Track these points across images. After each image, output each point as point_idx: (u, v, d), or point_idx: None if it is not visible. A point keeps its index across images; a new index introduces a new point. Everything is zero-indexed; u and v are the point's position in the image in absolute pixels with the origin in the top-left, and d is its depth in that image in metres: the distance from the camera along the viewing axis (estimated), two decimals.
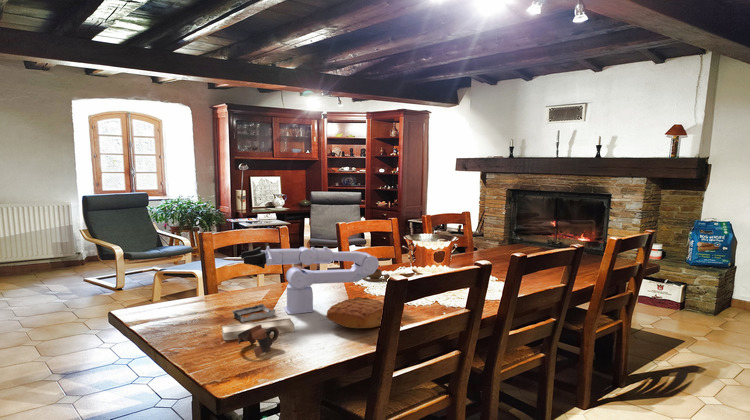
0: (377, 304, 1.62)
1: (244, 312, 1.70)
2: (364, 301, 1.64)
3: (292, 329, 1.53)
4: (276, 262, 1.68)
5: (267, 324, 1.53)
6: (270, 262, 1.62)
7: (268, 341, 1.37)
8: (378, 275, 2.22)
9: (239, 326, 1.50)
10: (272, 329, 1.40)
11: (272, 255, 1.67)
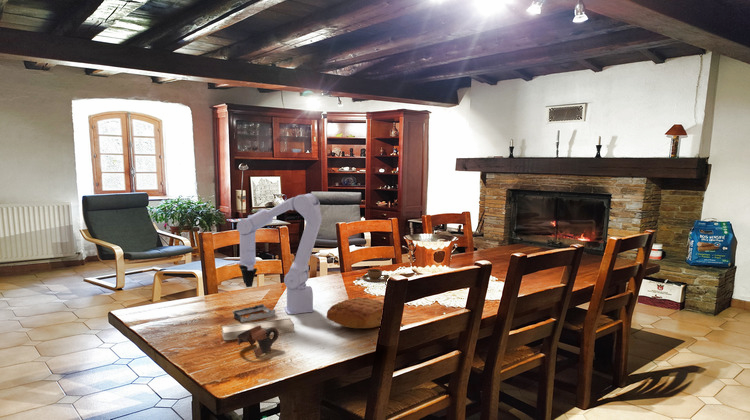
0: (377, 304, 1.62)
1: (244, 312, 1.70)
2: (364, 301, 1.64)
3: (292, 329, 1.53)
4: (252, 256, 1.75)
5: (267, 324, 1.53)
6: (251, 266, 1.71)
7: (268, 342, 1.37)
8: (378, 275, 2.21)
9: (239, 326, 1.50)
10: (272, 330, 1.39)
11: (245, 260, 1.74)
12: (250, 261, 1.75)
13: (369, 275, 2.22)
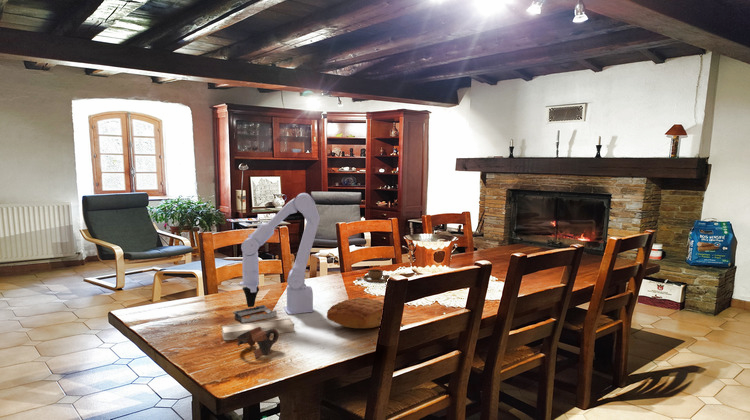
0: (377, 304, 1.62)
1: (245, 313, 1.69)
2: (364, 301, 1.64)
3: (292, 329, 1.53)
4: (255, 277, 1.70)
5: (267, 324, 1.53)
6: (254, 288, 1.65)
7: (268, 343, 1.36)
8: (379, 276, 2.21)
9: (239, 326, 1.50)
10: (272, 331, 1.38)
11: (248, 281, 1.69)
12: (253, 282, 1.69)
13: (370, 275, 2.21)
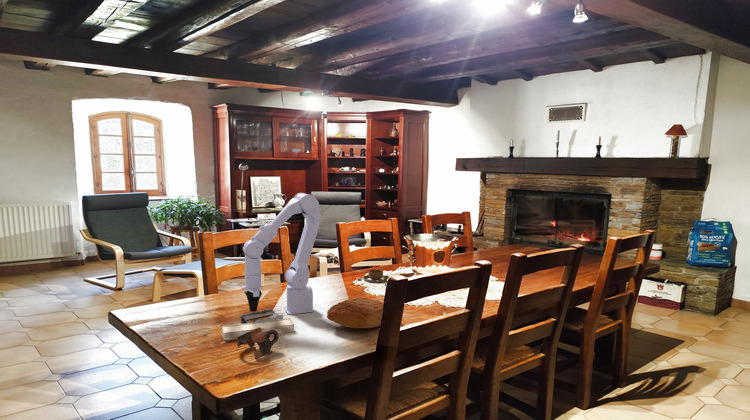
0: (377, 304, 1.62)
1: (252, 317, 1.65)
2: (364, 301, 1.64)
3: (292, 329, 1.53)
4: (258, 280, 1.65)
5: (267, 324, 1.53)
6: (257, 292, 1.60)
7: (268, 344, 1.35)
8: (379, 276, 2.20)
9: (239, 326, 1.50)
10: (272, 332, 1.38)
11: (250, 285, 1.64)
12: (256, 286, 1.64)
13: (370, 276, 2.21)
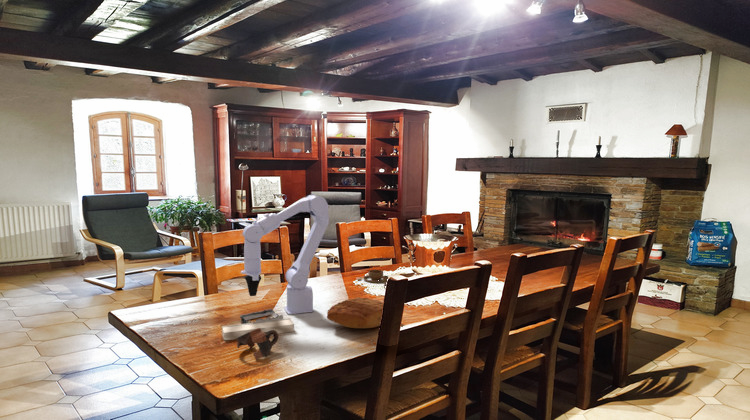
0: (377, 304, 1.62)
1: (252, 317, 1.65)
2: (364, 301, 1.64)
3: (292, 329, 1.53)
4: (257, 265, 1.65)
5: (267, 324, 1.53)
6: (256, 276, 1.60)
7: (268, 344, 1.35)
8: (379, 276, 2.19)
9: (239, 326, 1.50)
10: (272, 332, 1.37)
11: (250, 269, 1.64)
12: (255, 270, 1.64)
13: (370, 276, 2.20)
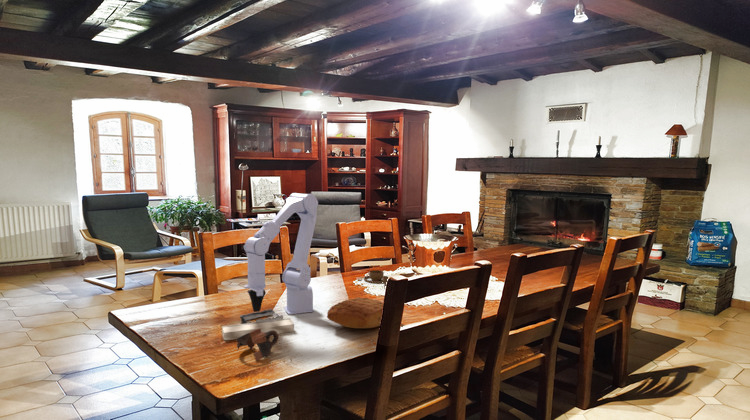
0: (377, 304, 1.62)
1: (252, 317, 1.65)
2: (364, 301, 1.64)
3: (292, 329, 1.53)
4: (261, 279, 1.57)
5: (267, 324, 1.53)
6: (260, 291, 1.53)
7: (268, 345, 1.34)
8: (379, 277, 2.19)
9: (239, 326, 1.50)
10: (272, 333, 1.37)
11: (254, 284, 1.57)
12: (259, 285, 1.57)
13: (370, 276, 2.20)
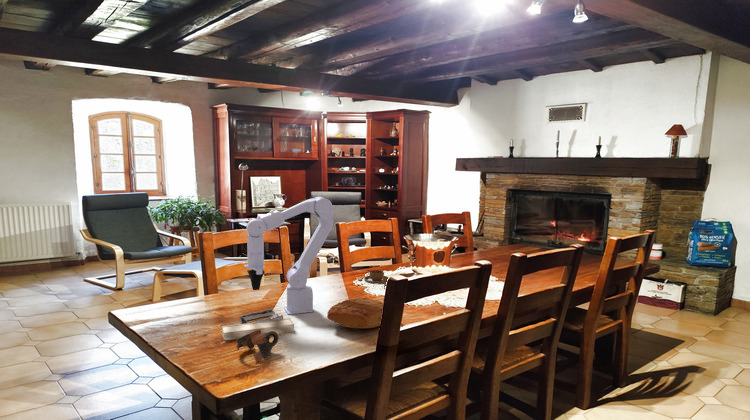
0: (377, 304, 1.62)
1: (252, 317, 1.65)
2: (364, 301, 1.64)
3: (292, 329, 1.53)
4: (260, 259, 1.67)
5: (267, 324, 1.53)
6: (260, 270, 1.62)
7: (268, 346, 1.34)
8: (379, 277, 2.19)
9: (239, 326, 1.50)
10: (272, 333, 1.36)
11: (253, 264, 1.66)
12: (258, 265, 1.66)
13: (371, 276, 2.20)
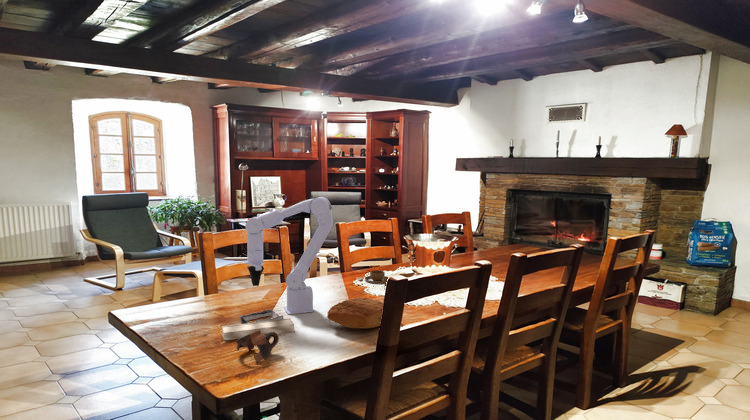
0: (377, 304, 1.62)
1: (252, 317, 1.65)
2: (364, 301, 1.64)
3: (292, 329, 1.53)
4: (260, 255, 1.71)
5: (267, 324, 1.53)
6: (259, 266, 1.66)
7: (268, 347, 1.33)
8: (380, 277, 2.18)
9: (239, 326, 1.50)
10: (272, 334, 1.36)
11: (253, 260, 1.70)
12: (258, 261, 1.71)
13: (371, 276, 2.19)
